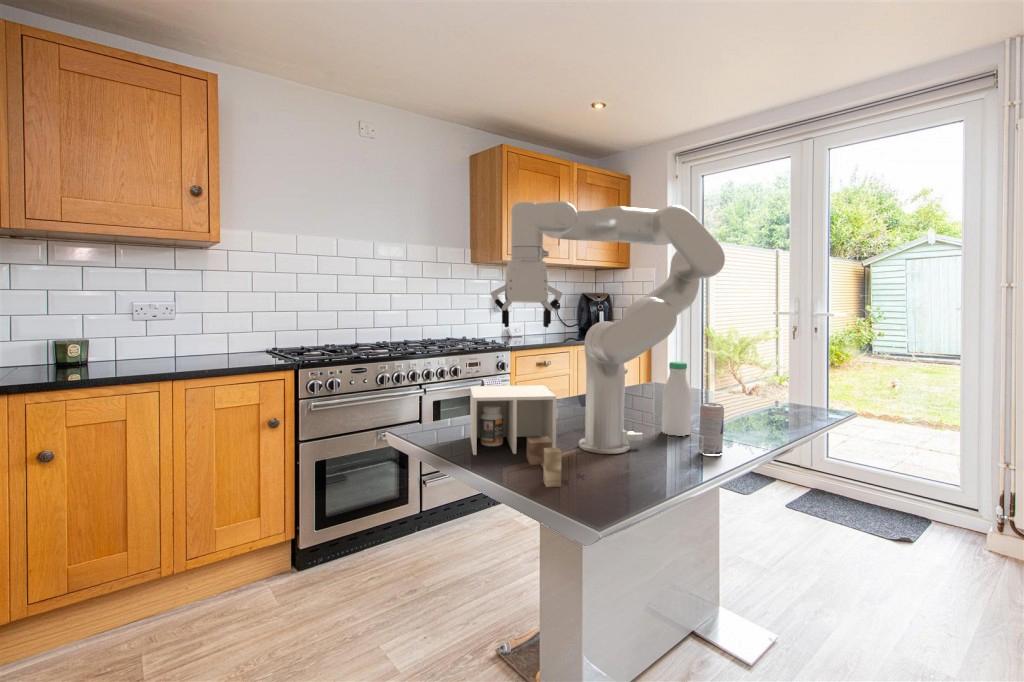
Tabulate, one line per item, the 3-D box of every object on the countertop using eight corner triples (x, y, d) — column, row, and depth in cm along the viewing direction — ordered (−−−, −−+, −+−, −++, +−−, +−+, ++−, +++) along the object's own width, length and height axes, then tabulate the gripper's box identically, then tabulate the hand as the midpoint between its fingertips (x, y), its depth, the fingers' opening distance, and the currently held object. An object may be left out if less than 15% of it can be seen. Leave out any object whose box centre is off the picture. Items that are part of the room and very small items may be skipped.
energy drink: (722, 452, 126) (724, 403, 125) (721, 458, 121) (723, 408, 120) (699, 449, 128) (701, 402, 127) (697, 455, 123) (699, 406, 122)
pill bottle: (500, 447, 129) (500, 408, 128) (478, 446, 130) (478, 407, 129) (505, 441, 134) (505, 404, 134) (483, 440, 135) (483, 403, 135)
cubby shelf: (543, 435, 141) (544, 385, 140) (555, 452, 125) (556, 396, 124) (470, 437, 138) (470, 386, 137) (473, 454, 123) (473, 397, 122)
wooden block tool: (547, 457, 121) (548, 428, 121) (565, 486, 102) (566, 451, 102) (526, 458, 121) (526, 428, 120) (541, 487, 102) (541, 452, 101)
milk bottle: (694, 437, 139) (697, 364, 138) (665, 437, 140) (668, 363, 138) (685, 430, 147) (687, 360, 146) (658, 430, 147) (660, 360, 146)
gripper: (559, 257, 128) (558, 326, 129) (489, 256, 126) (489, 326, 127) (565, 254, 121) (564, 327, 122) (492, 253, 119) (492, 328, 120)
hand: (526, 327), depth 125 cm, fingers open, 9 cm apart
